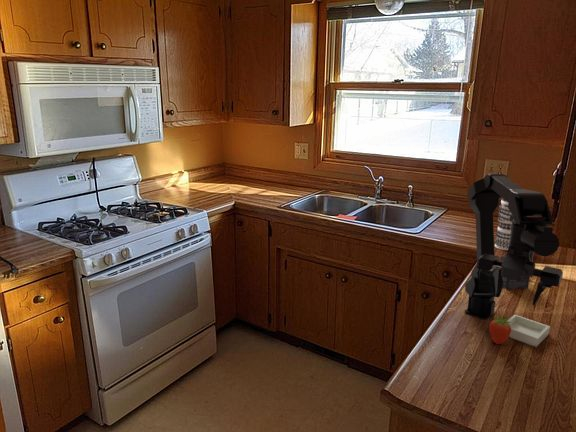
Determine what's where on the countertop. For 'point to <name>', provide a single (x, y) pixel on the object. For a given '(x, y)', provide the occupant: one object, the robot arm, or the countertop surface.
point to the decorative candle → (503, 226)
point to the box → (515, 281)
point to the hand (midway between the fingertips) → (513, 300)
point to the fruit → (499, 330)
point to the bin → (527, 330)
